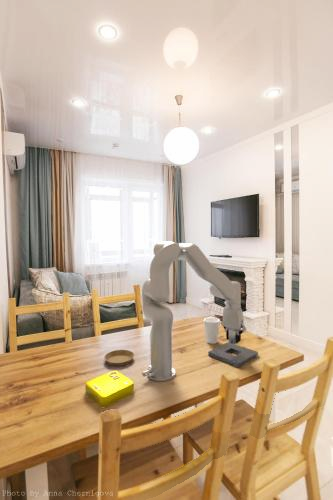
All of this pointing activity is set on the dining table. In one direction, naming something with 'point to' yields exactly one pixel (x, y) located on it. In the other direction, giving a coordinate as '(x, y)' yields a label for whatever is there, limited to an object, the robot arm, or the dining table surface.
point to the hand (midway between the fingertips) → (233, 340)
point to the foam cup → (211, 329)
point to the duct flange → (237, 360)
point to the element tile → (109, 388)
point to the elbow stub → (232, 335)
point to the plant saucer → (119, 357)
